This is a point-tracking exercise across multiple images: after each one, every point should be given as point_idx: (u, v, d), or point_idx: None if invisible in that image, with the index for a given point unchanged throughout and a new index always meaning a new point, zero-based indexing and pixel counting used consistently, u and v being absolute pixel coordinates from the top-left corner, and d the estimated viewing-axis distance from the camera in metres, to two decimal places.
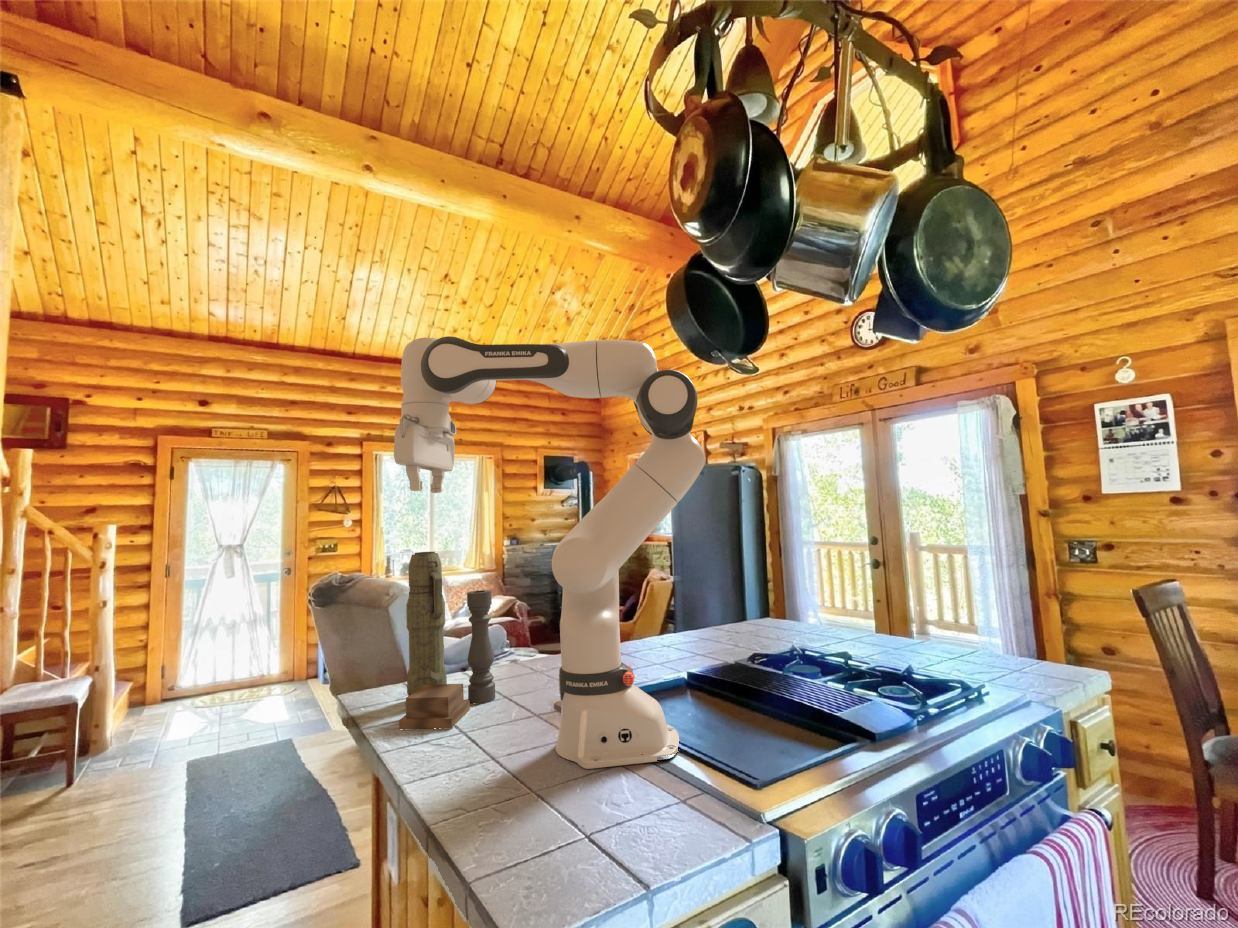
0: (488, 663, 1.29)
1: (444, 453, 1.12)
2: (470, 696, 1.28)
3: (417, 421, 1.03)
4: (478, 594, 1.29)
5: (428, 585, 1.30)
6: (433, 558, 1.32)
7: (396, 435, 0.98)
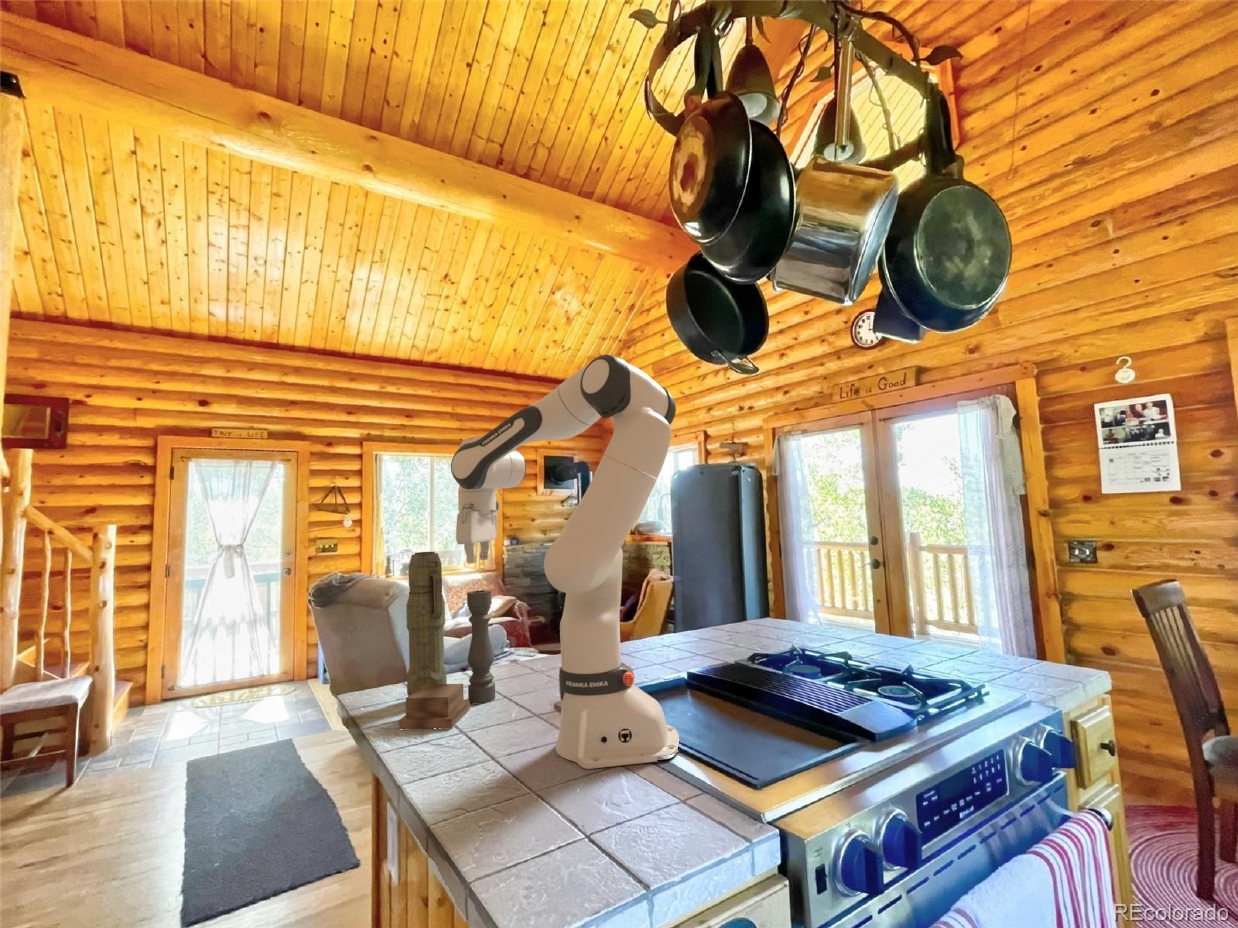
0: (488, 663, 1.29)
1: (490, 527, 1.38)
2: (470, 696, 1.28)
3: (472, 507, 1.29)
4: (478, 594, 1.29)
5: (428, 585, 1.30)
6: (433, 558, 1.32)
7: (458, 521, 1.24)
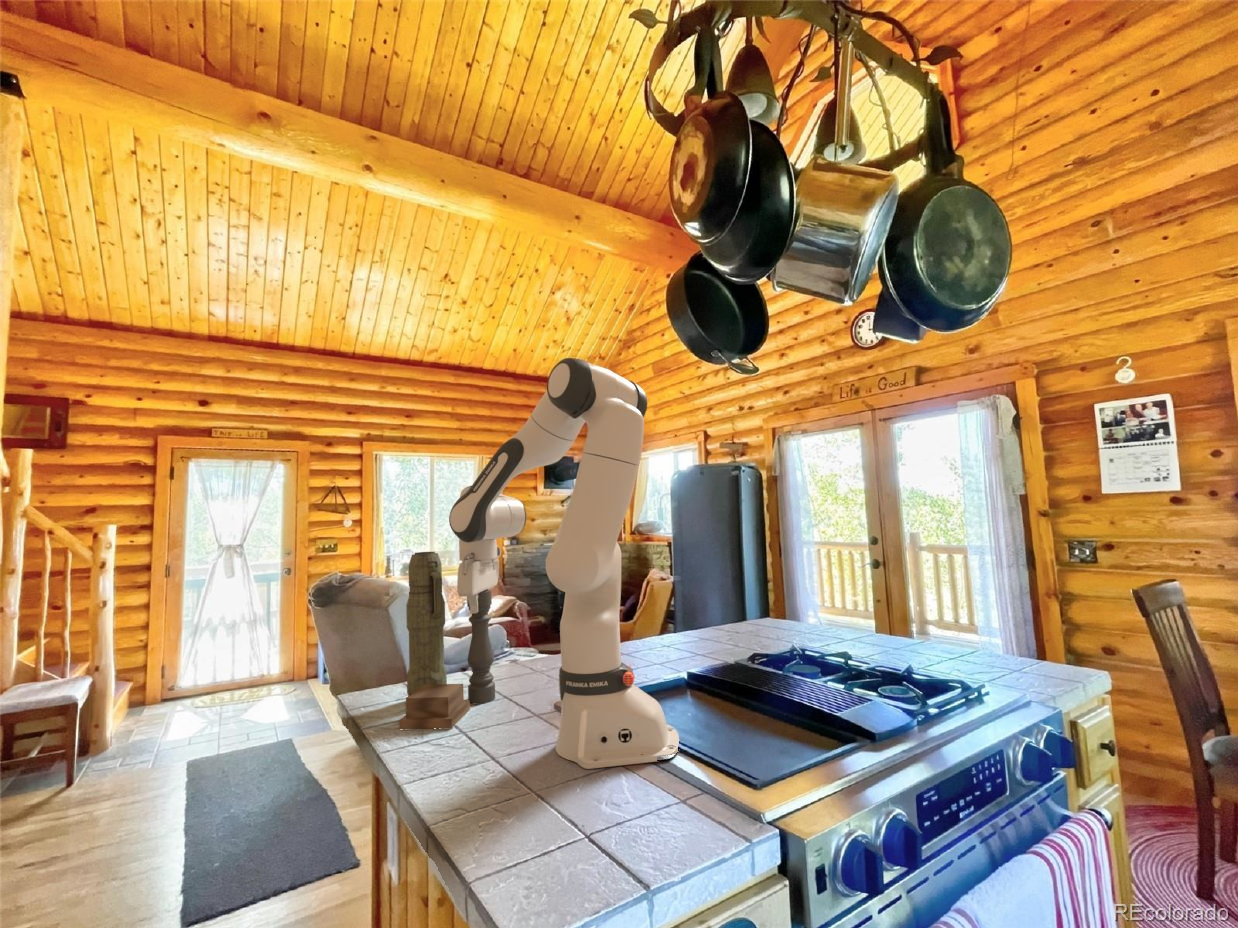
0: (487, 663, 1.29)
1: (492, 574, 1.37)
2: (470, 696, 1.28)
3: (473, 557, 1.28)
4: (478, 594, 1.29)
5: (428, 585, 1.30)
6: (433, 558, 1.32)
7: (459, 573, 1.23)
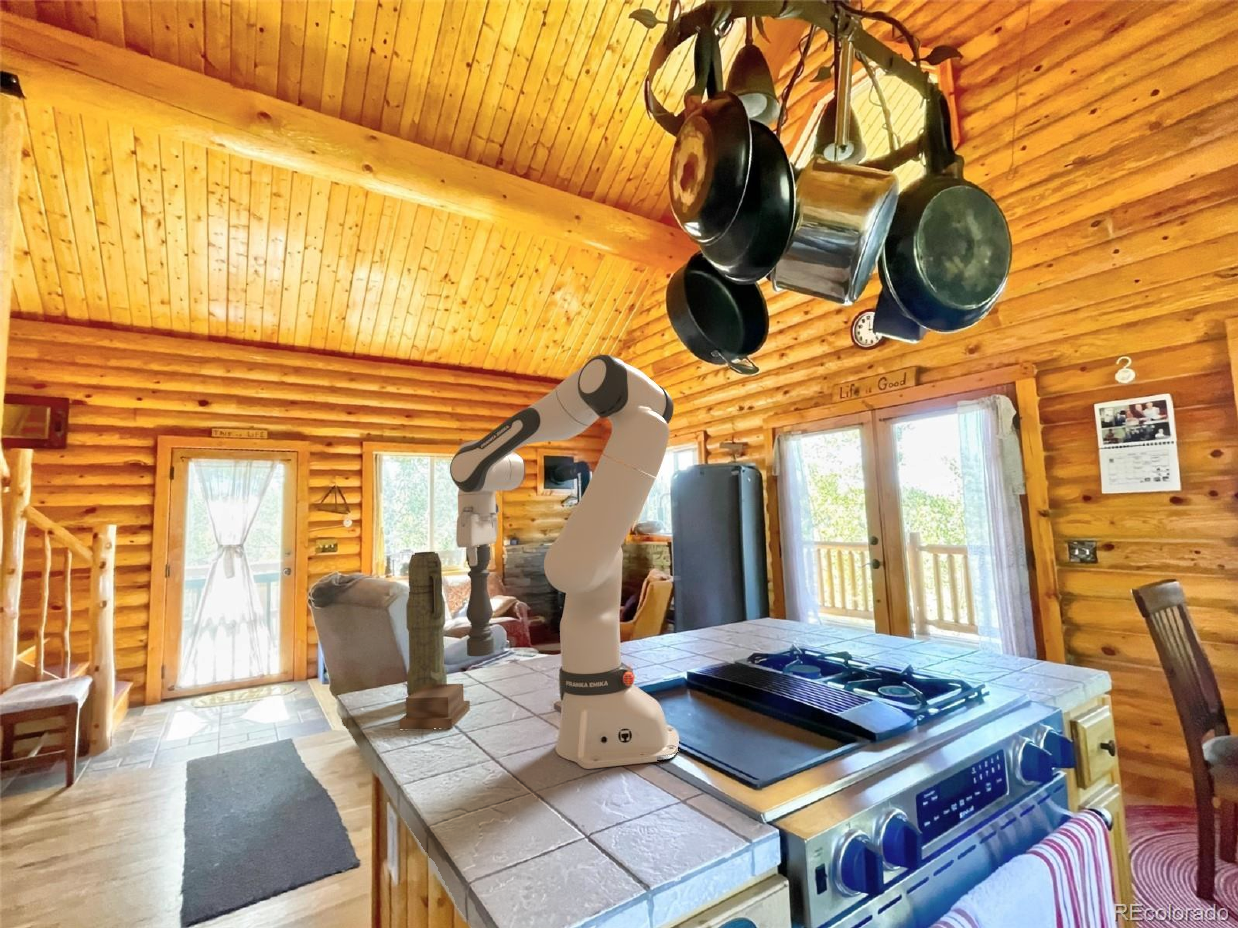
0: (486, 617, 1.30)
1: (490, 530, 1.38)
2: (469, 649, 1.29)
3: (472, 510, 1.29)
4: None
5: (428, 585, 1.30)
6: (433, 558, 1.32)
7: (458, 524, 1.24)
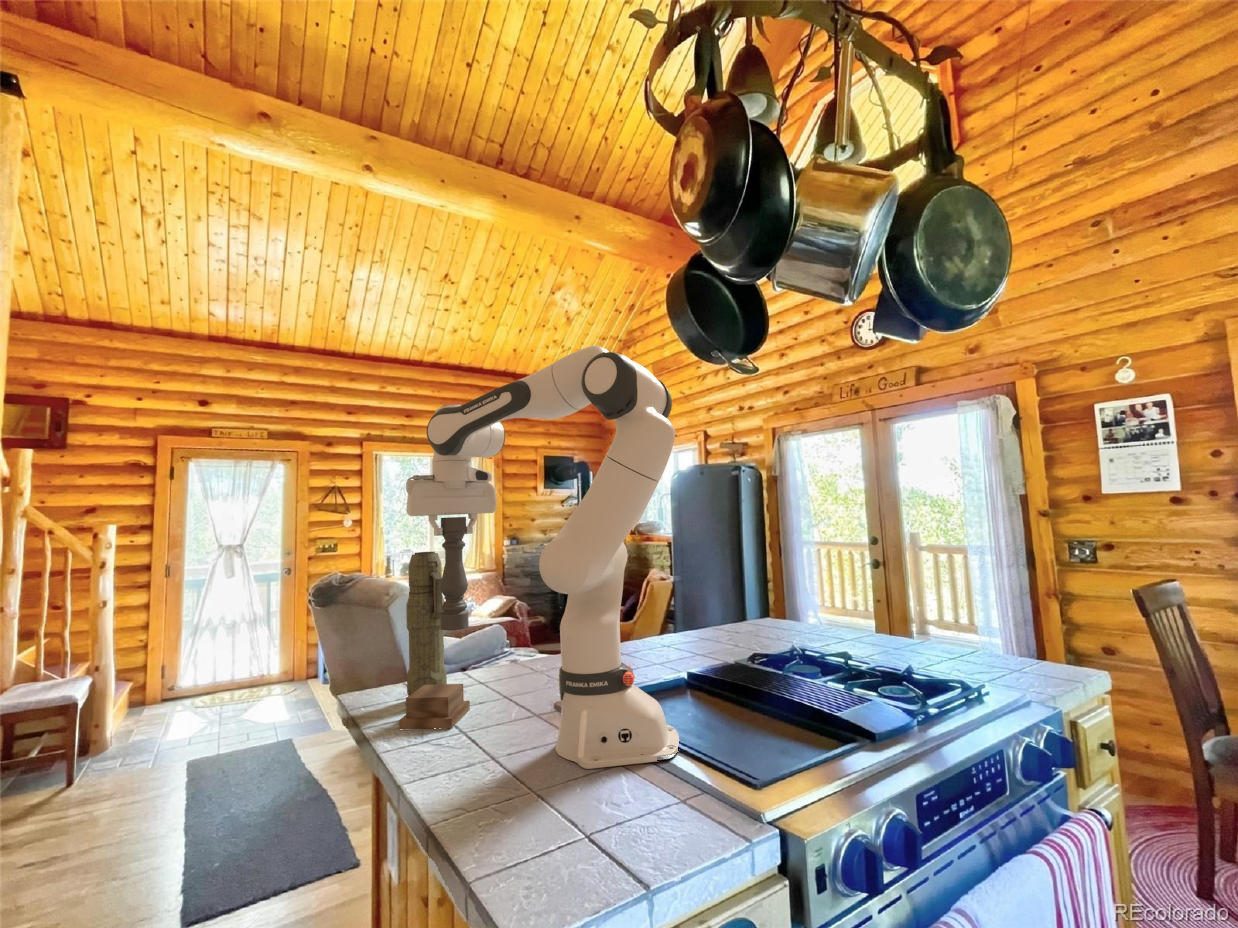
0: (449, 591, 1.23)
1: (475, 499, 1.29)
2: None
3: (432, 478, 1.25)
4: (442, 518, 1.25)
5: (428, 585, 1.30)
6: (433, 558, 1.32)
7: (408, 493, 1.23)
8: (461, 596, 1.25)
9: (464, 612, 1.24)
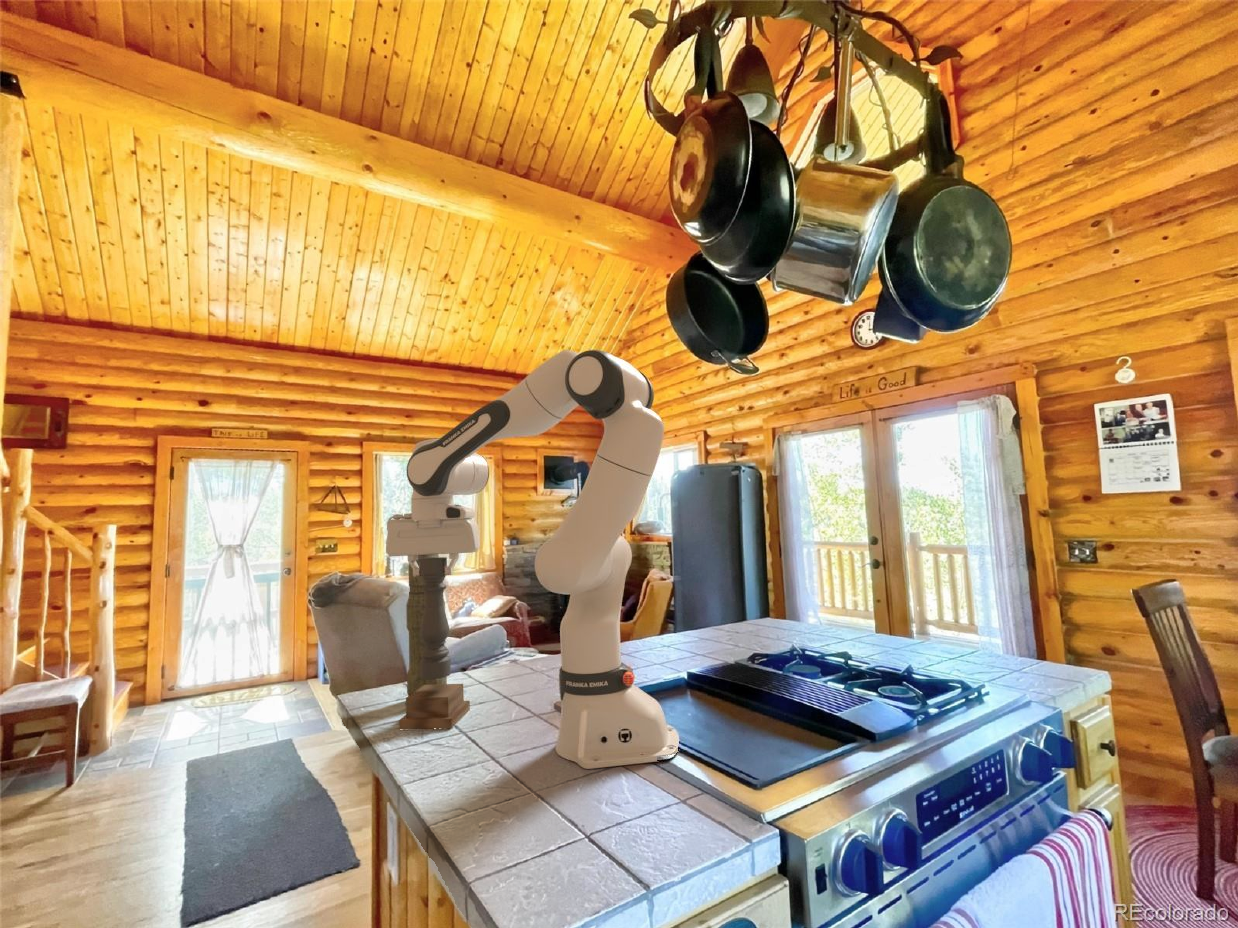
0: (422, 637, 1.17)
1: (451, 538, 1.19)
2: None
3: (410, 517, 1.22)
4: None
5: None
6: None
7: None
8: (435, 643, 1.17)
9: (437, 661, 1.17)
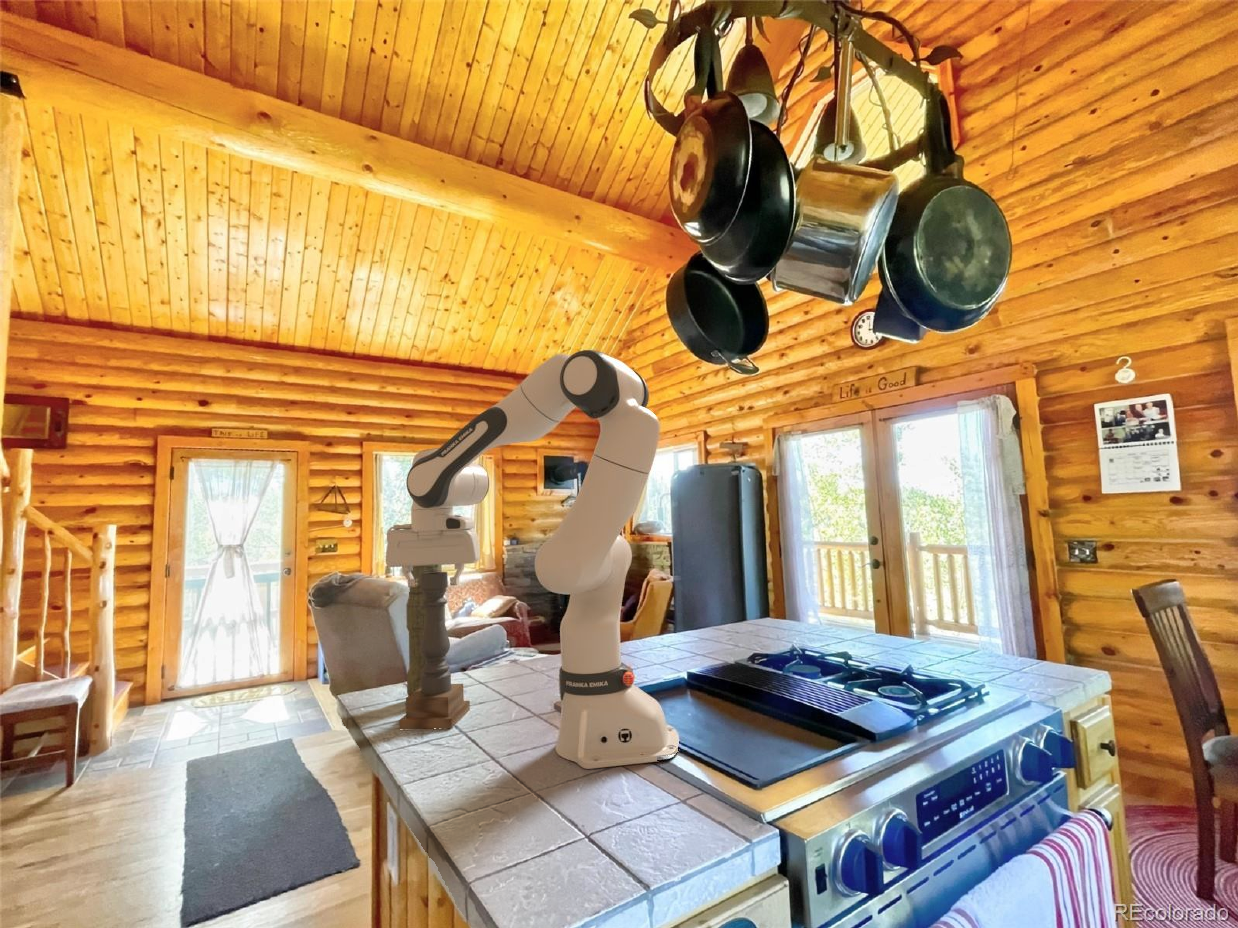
0: (422, 652, 1.17)
1: (451, 549, 1.19)
2: None
3: (410, 527, 1.21)
4: None
5: None
6: None
7: None
8: (435, 659, 1.17)
9: (437, 677, 1.16)
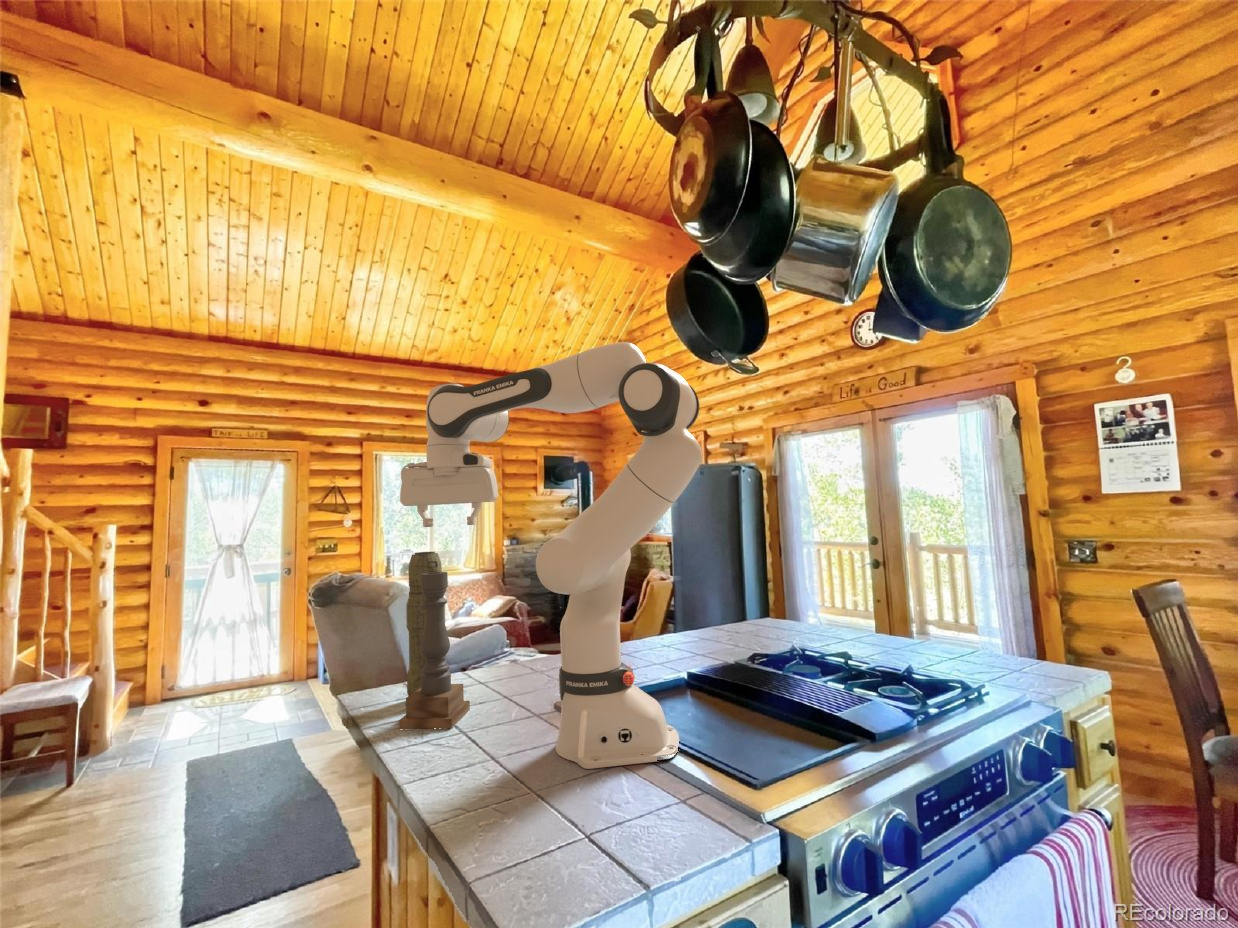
0: (422, 652, 1.17)
1: (468, 486, 1.15)
2: None
3: (425, 465, 1.17)
4: None
5: None
6: (433, 558, 1.32)
7: None
8: (435, 659, 1.17)
9: (437, 677, 1.16)
